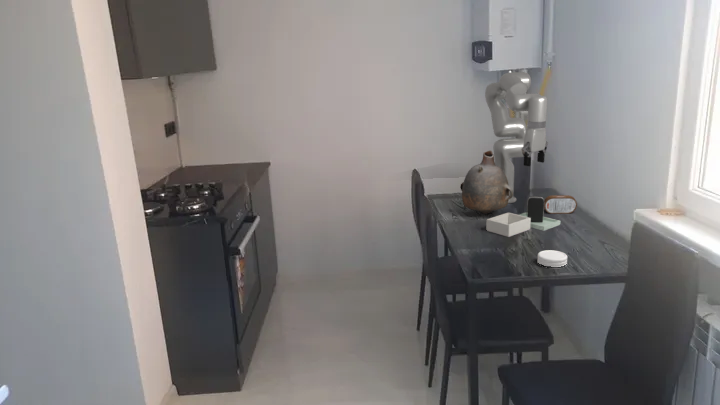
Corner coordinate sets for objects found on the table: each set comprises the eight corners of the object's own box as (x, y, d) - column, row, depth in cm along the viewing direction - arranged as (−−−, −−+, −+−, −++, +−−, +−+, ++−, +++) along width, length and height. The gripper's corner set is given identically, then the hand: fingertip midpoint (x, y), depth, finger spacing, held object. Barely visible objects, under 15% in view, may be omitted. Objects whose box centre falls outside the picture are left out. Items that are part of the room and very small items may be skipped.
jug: (456, 219, 246) (457, 155, 238) (461, 207, 265) (461, 147, 258) (512, 221, 239) (514, 155, 231) (512, 208, 259) (514, 147, 251)
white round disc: (543, 269, 186) (543, 260, 185) (533, 259, 196) (533, 250, 195) (571, 268, 186) (572, 258, 186) (560, 257, 196) (560, 248, 195)
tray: (508, 221, 239) (508, 217, 239) (525, 216, 246) (525, 212, 246) (543, 230, 226) (544, 226, 225) (560, 224, 233) (560, 220, 232)
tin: (575, 212, 250) (576, 194, 247) (577, 214, 247) (578, 196, 244) (542, 212, 251) (543, 195, 249) (543, 214, 248) (544, 196, 246)
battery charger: (542, 220, 237) (543, 195, 234) (543, 222, 234) (544, 197, 231) (526, 220, 239) (527, 195, 236) (526, 222, 235) (527, 197, 232)
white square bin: (486, 230, 229) (486, 219, 228) (507, 223, 237) (508, 212, 236) (508, 236, 220) (509, 225, 219) (530, 229, 228) (530, 217, 227)
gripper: (541, 121, 238) (538, 159, 243) (516, 126, 228) (514, 165, 233) (555, 123, 232) (553, 162, 237) (531, 128, 222) (528, 168, 227)
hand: (533, 163), depth 235 cm, fingers open, 9 cm apart
